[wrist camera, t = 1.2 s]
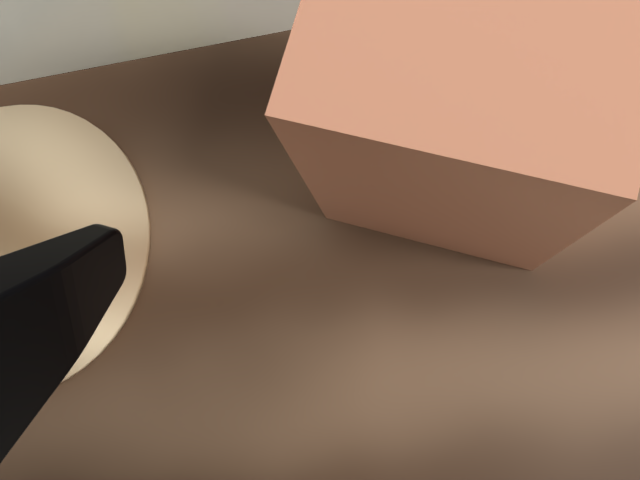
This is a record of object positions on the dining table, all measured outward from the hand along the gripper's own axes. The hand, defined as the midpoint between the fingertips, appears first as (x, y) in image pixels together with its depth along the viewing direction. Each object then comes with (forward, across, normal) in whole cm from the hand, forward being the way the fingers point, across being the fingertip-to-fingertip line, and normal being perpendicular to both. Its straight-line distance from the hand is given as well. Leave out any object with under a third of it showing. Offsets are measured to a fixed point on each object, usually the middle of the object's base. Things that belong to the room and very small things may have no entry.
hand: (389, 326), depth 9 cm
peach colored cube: (+11, 0, +2) cm, 11 cm away
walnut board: (+8, +6, +9) cm, 14 cm away
